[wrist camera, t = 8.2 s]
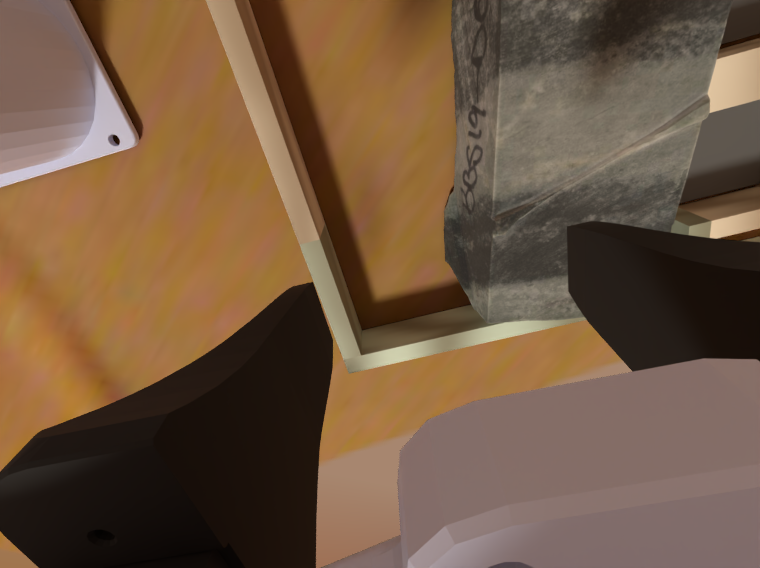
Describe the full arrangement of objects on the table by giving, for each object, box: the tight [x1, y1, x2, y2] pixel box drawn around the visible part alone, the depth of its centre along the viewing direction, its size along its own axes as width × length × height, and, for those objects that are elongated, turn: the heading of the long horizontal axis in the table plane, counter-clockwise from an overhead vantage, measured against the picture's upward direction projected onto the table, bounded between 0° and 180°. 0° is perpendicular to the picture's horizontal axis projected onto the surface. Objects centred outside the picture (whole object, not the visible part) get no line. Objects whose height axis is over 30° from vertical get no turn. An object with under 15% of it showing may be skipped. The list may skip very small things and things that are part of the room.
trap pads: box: [679, 0, 760, 203], centre depth 18 cm, size 4×12×1 cm, turn 15°
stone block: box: [444, 0, 733, 324], centre depth 18 cm, size 9×14×5 cm, turn 6°
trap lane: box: [206, 0, 760, 373], centre depth 17 cm, size 24×23×2 cm
